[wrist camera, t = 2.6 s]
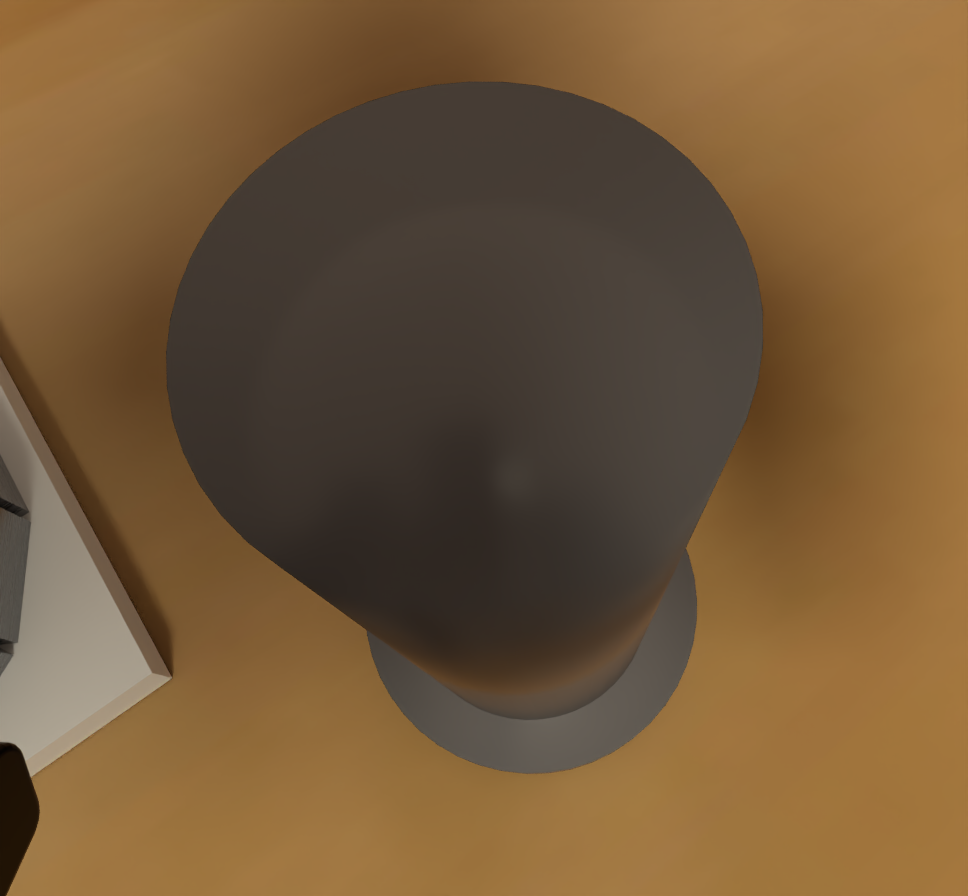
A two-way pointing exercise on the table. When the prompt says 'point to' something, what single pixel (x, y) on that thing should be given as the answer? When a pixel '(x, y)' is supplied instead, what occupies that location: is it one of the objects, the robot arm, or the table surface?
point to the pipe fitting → (478, 401)
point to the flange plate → (58, 606)
